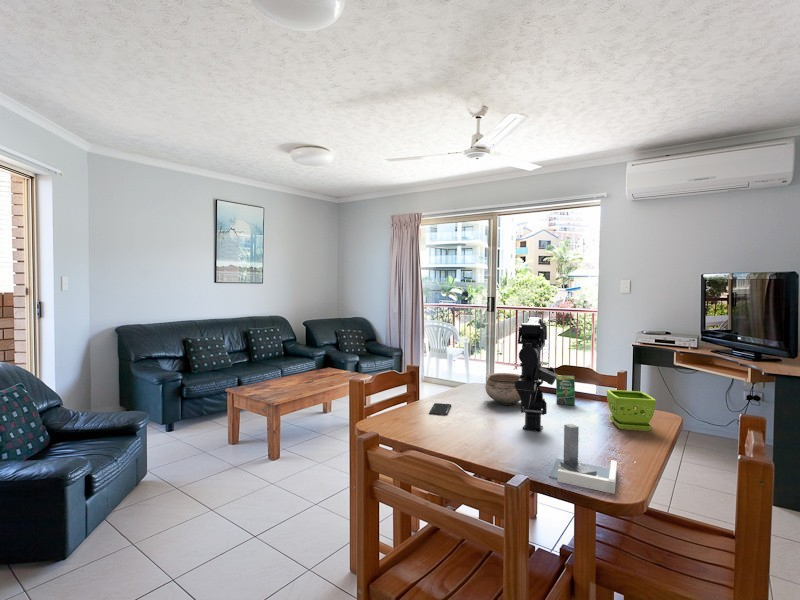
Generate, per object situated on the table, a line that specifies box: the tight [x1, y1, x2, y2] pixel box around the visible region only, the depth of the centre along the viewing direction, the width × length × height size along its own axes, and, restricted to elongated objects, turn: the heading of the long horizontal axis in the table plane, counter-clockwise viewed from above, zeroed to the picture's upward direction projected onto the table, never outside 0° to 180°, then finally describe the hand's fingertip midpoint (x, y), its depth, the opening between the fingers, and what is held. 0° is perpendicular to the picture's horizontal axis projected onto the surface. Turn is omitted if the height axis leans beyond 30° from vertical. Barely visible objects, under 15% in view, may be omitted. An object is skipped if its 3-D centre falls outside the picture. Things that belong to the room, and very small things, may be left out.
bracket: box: [560, 423, 597, 476], centre depth 122 cm, size 9×6×12 cm, turn 16°
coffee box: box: [555, 374, 576, 406], centre depth 193 cm, size 8×3×13 cm, turn 70°
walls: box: [557, 459, 618, 495], centre depth 119 cm, size 16×14×3 cm
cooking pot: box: [485, 372, 522, 406], centre depth 194 cm, size 25×19×12 cm
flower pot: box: [606, 389, 657, 432], centre depth 162 cm, size 14×14×13 cm
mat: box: [548, 458, 610, 480], centre depth 120 cm, size 14×15×1 cm
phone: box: [429, 402, 452, 417], centre depth 183 cm, size 8×1×15 cm
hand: (529, 405), depth 144 cm, fingers open, 9 cm apart
